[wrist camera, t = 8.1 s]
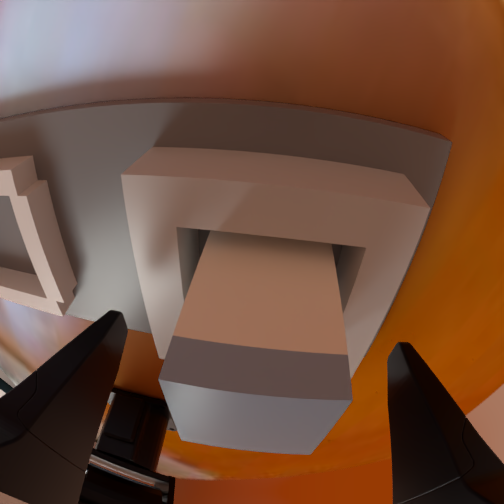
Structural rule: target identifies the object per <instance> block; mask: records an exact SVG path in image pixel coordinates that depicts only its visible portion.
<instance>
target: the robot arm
mask: <svg viewBox="0 0 504 504" xmlns="http://www.w3.org/2000/svg"><path fill="white" fill-rule="evenodd" d="M127 333H128V328H127V325H126V322H125V319H124V315H123V313H122V312H120V311H116V310H110V311H108V312H107V313H105V314H104V315H103V316H102V317H100V318H99V319H98V320H97V321H95V322H94V323H93V324H92V325H90V326H89V327H88V328H87V329H85V330H84V331H83V332H82V333H80V334H79V335H78V336H77V337H76V338H74V339H73V340H72V341H71V342H69V343H68V344H67V345H66V346H64V347H63V348H62V349H61V350H60V351H58V352H57V353H56V354H55V355H54V356H52V357H51V358H50V359H49V360H48V361H46V362H45V363H44V364H43V365H42V366H40V367H39V368H38V369H37V371H34V372H33V373H32V374H31V375H30V376H28V377H27V378H26V379H25V380H24V381H22V382H21V383H20V384H19V385H17V386H16V387H14V388H13V389H12V390H10V391H9V392H8V393H6V394H5V395H3V396H2V397H0V504H173V501H174V489H175V477H172V476H165V475H162V474H159V473H156V470H157V466H158V462H159V457H160V453H161V450H162V446H163V442H164V438H165V434H166V430H171V431H177V428H176V426H175V423H174V421H173V418H172V416H171V413H170V410H169V408H168V405H167V402H164V401H161V400H156V399H152V398H147V397H143V396H139V395H135V394H131V393H127V392H124V391H120V390H116V389H113V388H112V387H113V385H114V382H115V379H116V376H117V373H118V369H119V365H120V361H121V357H122V353H123V349H124V345H125V341H126V337H127ZM387 368H388V412H389V423H390V436H391V452H392V474H393V475H392V477H393V504H504V464H503V463H502V461H501V460H500V459H499V458H498V457H497V456H496V454H495V453H494V452H493V451H492V450H491V449H490V447H489V446H488V445H487V444H486V442H485V441H484V440H483V439H482V438H481V436H480V435H479V434H478V432H477V431H476V430H475V429H474V427H473V426H472V424H471V423H470V422H469V420H468V419H467V418H466V416H465V415H464V413H463V412H462V410H461V409H460V408H459V406H458V405H457V404H456V402H455V401H454V400H453V398H452V397H451V395H450V394H449V393H448V391H447V390H446V389H445V387H444V386H443V385H442V383H441V382H440V381H439V380H438V378H437V377H436V376H435V374H434V373H433V372H432V370H431V369H430V368H429V367H428V365H427V364H426V363H425V361H424V360H423V359H422V358H421V356H420V355H419V354H418V353H417V351H416V350H415V349H414V347H413V346H412V345H411V344H410V343H408V342H398V343H397V344H396V345H395V347H394V349H393V350H392V352H391V354H390V355H389V357H388V362H387ZM107 402H108V403H109V404H110V408H109V410H108V413H107V416H106V419H105V421H104V424H103V427H102V430H101V433H100V436H99V439H98V442H97V444H96V447H95V449H94V448H93V446H94V442H95V439H96V436H97V433H98V429H99V426H100V423H101V420H102V417H103V414H104V411H105V408H106V405H107ZM89 460H91V461H93V462H95V463H98V464H100V465H102V466H105V467H107V468H109V469H112V470H115V471H117V472H120V473H122V474H125V475H128V476H130V477H133V478H136V479H139V480H142V481H145V482H148V483H151V484H154V487H153V486H149V485H147V484H143V483H141V482H138V481H135V480H132V479H129V478H126V477H124V476H121V475H118V474H116V473H113V472H111V471H108V470H106V469H103V468H101V467H98V466H96V465H94V464H92V463H90V464H88V463H89Z"/></svg>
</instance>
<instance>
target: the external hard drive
mask: <svg viewBox="0 0 504 504" xmlns="http://www.w3.org/2000/svg"><path fill="white" fill-rule="evenodd" d="M12 389H13V388H12V387H11V386H10V385H8V384H7V383H6V382H5V381H4V380H2V379H1V378H0V397H2V396H3V395H5V394H6V393H8V392H9V391H10V390H12Z"/></svg>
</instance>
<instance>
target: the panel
mask: <svg viewBox="0 0 504 504" xmlns="http://www.w3.org/2000/svg"><path fill="white" fill-rule="evenodd" d="M451 145H452V142H451V141H450V140H448V139H447V138H445V137H444V136H442V135H441V134H438V133H434V132H431V131H427V130H424V129H420V128H416V127H413V126H409V125H405V124H401V123H396V122H392V121H388V120H383V119H379V118H374V117H369V116H365V115H359V114H354V113H349V112H343V111H337V110H331V109H325V108H318V107H311V106H304V105H295V104H287V103H277V102H267V101H255V100H240V99H219V98H153V99H133V100H118V101H107V102H96V103H87V104H79V105H72V106H65V107H58V108H52V109H46V110H40V111H35V112H29V113H24V114H20V115H15V116H10V117H6V118H2V119H0V298H2V299H5V300H9V301H12V302H15V303H18V304H21V305H24V306H28V307H31V308H34V309H38V310H41V311H45V312H48V313H52V314H55V315H59V316H64V314H66V315H70V316H74V317H78V318H82V319H86V320H90V321H97V320H98V319H99V318H100V317H102V316H103V315H104V314H105V313H107V312H108V311H110V310H116V311H120V312H122V313H123V315H124V319H125V322H126V325H127V328H128V329H131V330H136V331H141V332H146V333H152V335H153V339H154V342H155V346H156V349H157V353H158V356H159V358H161V359H165V357H166V354H167V351H168V348H169V345H170V342H171V339H172V336H173V333H174V330H175V327H176V324H177V321H178V318H179V315H180V313H181V310H182V307H183V304H184V301H185V298H186V296H187V293H188V290H189V287H190V284H191V282H192V279H193V276H194V273H195V271H196V268H197V265H198V262H199V260H200V257H201V254H202V252H203V249H204V246H205V244H206V241H207V238H208V236H209V233H210V231H211V230H212V231H222V232H232V233H242V234H251V235H260V236H270V237H279V238H288V239H297V240H306V241H314V242H323V243H331V244H332V250H333V255H334V261H335V267H336V273H337V279H338V285H339V292H340V298H341V305H342V312H343V319H344V327H345V334H346V342H347V351H348V359H349V368H350V378H352V376H353V374H354V373H355V371H356V369H357V367H358V366H359V364H360V362H361V360H362V359H363V357H365V356H366V354H367V352H368V350H369V349H370V347H371V345H372V343H373V341H374V339H375V337H376V336H377V334H378V332H379V330H380V328H381V326H382V324H383V322H384V320H385V318H386V316H387V314H388V312H389V310H390V308H391V306H392V304H393V302H394V300H395V298H396V296H397V293H398V291H399V289H400V287H401V285H402V283H403V280H404V278H405V276H406V274H407V271H408V269H409V267H410V264H411V262H412V260H413V257H414V255H415V252H416V250H417V247H418V245H419V242H420V240H421V237H422V235H423V232H424V230H425V227H426V224H427V221H428V219H429V216H430V213H431V210H432V207H433V205H434V202H435V199H436V196H437V193H438V190H439V187H440V183H441V180H442V177H443V174H444V170H445V167H446V163H447V160H448V156H449V153H450V149H451Z"/></svg>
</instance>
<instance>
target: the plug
mask: <svg viewBox="0 0 504 504" xmlns="http://www.w3.org/2000/svg"><path fill="white" fill-rule="evenodd" d="M158 380H159V383H160V386H161V388H162V391H163V394H164V397H165V400H166V402H167V405H168V408H169V410H170V413H171V416H172V418H173V421H174V423H175V426H176V428H177V431H178V433H179V436H180V438H181V440H183V441H188V442H194V443H199V444H205V445H211V446H217V447H224V448H231V449H239V450H248V451H258V452H269V453H284V454H308V455H310V454H311V453H312V452H313V451H314V450H315V448H316V447H317V446H318V445H319V444H320V442H321V441H322V440H323V439H324V437H325V436H326V435H327V434H328V432H329V431H330V430H331V429H332V427H333V426H334V425H335V423H336V422H337V421H338V419H339V418H340V417H341V415H342V414H343V413H344V411H345V410H346V409H347V407H348V406H349V405H350V403H351V402H352V389H351V378H350V368H349V359H348V351H347V342H346V334H345V327H344V319H343V312H342V305H341V298H340V292H339V285H338V279H337V273H336V267H335V261H334V255H333V250H332V244H331V243H323V242H314V241H306V240H297V239H288V238H279V237H270V236H260V235H251V234H242V233H232V232H222V231H212V230H211V231H210V233H209V236H208V238H207V241H206V244H205V246H204V249H203V252H202V254H201V257H200V260H199V262H198V265H197V268H196V271H195V273H194V276H193V279H192V282H191V284H190V287H189V290H188V293H187V296H186V298H185V301H184V304H183V307H182V310H181V313H180V315H179V318H178V321H177V324H176V327H175V330H174V333H173V336H172V339H171V342H170V345H169V348H168V351H167V354H166V357H165V360H164V363H163V366H162V369H161V372H160V375H159V378H158Z"/></svg>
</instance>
